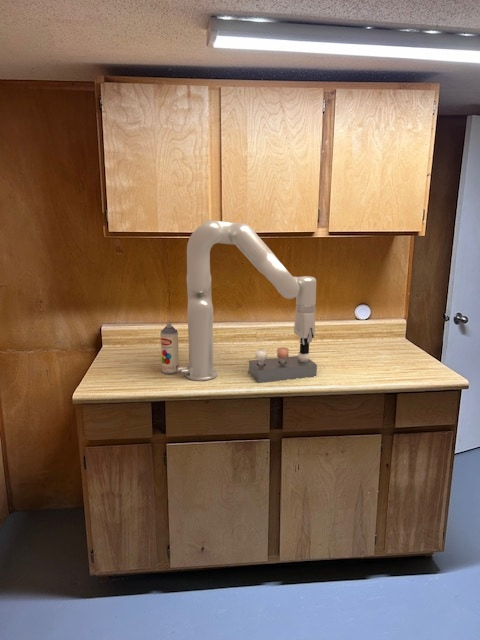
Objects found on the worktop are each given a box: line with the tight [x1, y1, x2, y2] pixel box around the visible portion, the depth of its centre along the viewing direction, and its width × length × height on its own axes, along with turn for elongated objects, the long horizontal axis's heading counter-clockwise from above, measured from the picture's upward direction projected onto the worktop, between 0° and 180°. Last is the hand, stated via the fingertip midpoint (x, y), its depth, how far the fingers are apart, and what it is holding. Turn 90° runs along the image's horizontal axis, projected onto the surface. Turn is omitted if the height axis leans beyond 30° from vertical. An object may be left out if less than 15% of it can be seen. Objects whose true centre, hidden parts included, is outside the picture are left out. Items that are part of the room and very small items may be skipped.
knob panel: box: [248, 355, 318, 384], centre depth 183 cm, size 24×12×5 cm, turn 107°
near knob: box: [254, 349, 268, 366], centre depth 180 cm, size 4×4×8 cm
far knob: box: [297, 351, 310, 362], centre depth 185 cm, size 4×4×8 cm
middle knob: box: [276, 347, 289, 364], centre depth 182 cm, size 4×4×8 cm
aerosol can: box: [160, 322, 180, 375], centre depth 184 cm, size 7×7×20 cm
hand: (304, 353), depth 184 cm, fingers closed
